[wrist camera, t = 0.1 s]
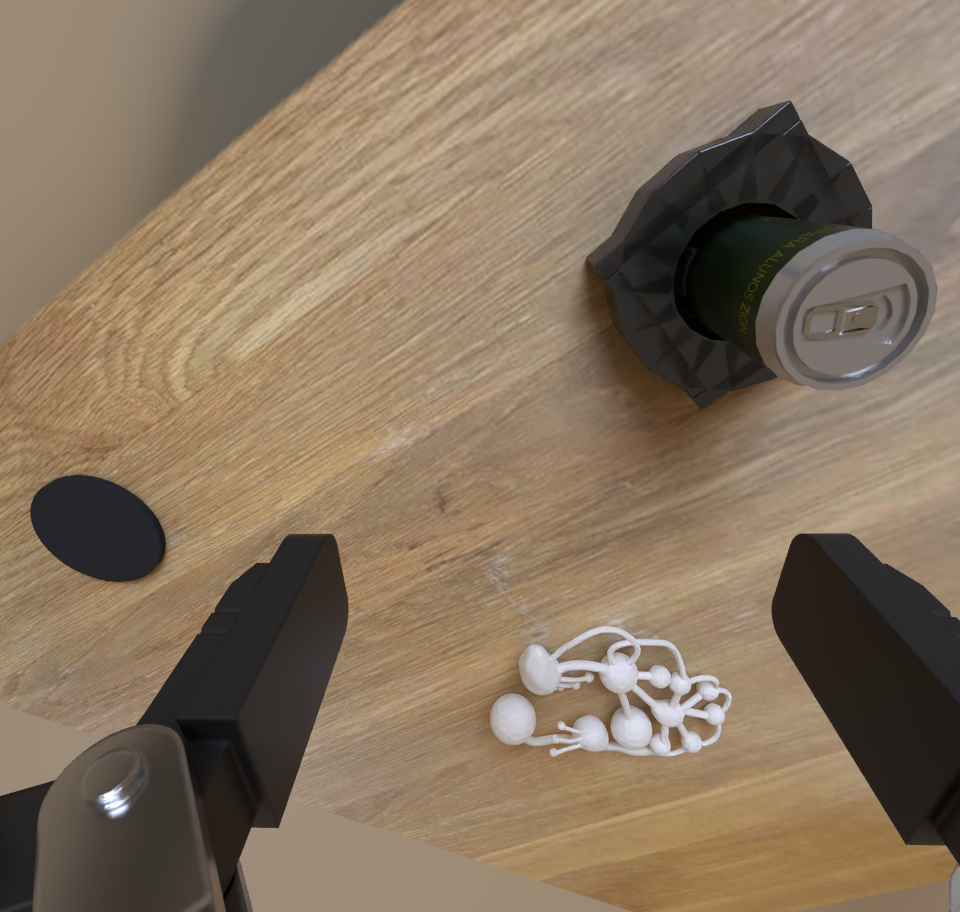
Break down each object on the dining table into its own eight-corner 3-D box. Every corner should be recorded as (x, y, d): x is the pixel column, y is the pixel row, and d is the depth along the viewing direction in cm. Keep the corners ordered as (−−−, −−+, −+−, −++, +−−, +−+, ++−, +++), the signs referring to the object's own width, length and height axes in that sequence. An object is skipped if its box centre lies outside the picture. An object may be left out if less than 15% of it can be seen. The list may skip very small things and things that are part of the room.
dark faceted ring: (561, 256, 27) (568, 264, 25) (767, 75, 23) (801, 61, 21) (679, 410, 31) (695, 431, 29) (872, 277, 27) (912, 287, 25)
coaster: (14, 522, 37) (7, 527, 37) (74, 450, 34) (67, 455, 34) (125, 594, 40) (120, 600, 40) (189, 534, 37) (185, 539, 37)
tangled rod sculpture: (760, 647, 42) (789, 689, 38) (677, 760, 47) (695, 806, 44) (541, 587, 39) (549, 626, 35) (479, 715, 44) (480, 760, 41)
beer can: (663, 323, 29) (758, 404, 18) (668, 218, 26) (780, 242, 16) (763, 311, 28) (919, 388, 18) (777, 204, 26) (968, 219, 15)
